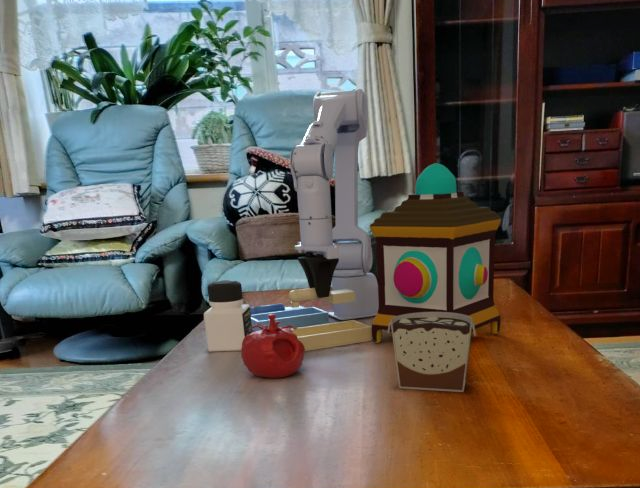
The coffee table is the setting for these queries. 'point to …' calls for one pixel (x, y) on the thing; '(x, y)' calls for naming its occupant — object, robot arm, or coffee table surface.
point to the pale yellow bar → (310, 294)
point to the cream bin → (333, 334)
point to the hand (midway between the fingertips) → (320, 296)
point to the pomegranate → (272, 351)
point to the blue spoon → (270, 308)
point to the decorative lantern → (436, 254)
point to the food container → (432, 350)
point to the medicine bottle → (226, 316)
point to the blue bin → (292, 318)
